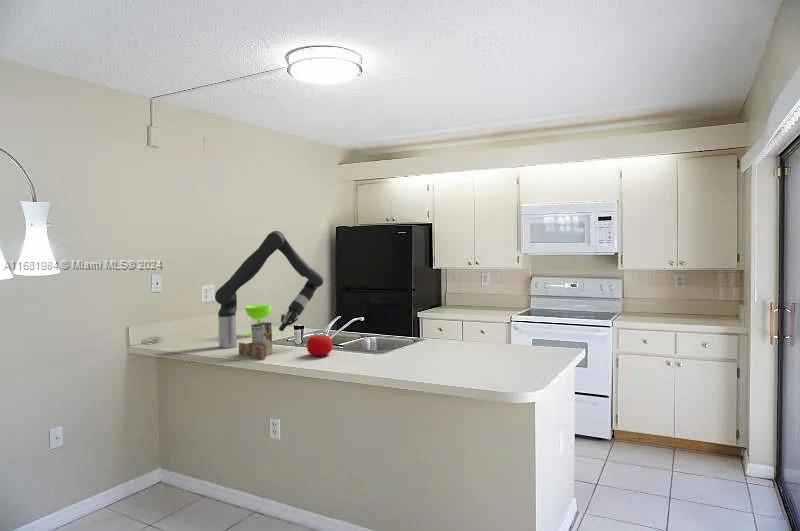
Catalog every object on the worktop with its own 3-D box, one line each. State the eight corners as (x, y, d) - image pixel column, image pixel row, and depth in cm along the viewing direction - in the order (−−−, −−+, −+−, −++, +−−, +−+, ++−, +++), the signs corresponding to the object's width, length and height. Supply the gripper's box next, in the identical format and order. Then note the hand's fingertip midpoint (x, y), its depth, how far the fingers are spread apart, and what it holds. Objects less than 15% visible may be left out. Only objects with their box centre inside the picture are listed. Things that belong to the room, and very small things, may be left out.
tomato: (306, 353, 291) (305, 333, 291) (331, 351, 294) (331, 331, 293) (307, 358, 277) (307, 337, 277) (334, 357, 280) (333, 336, 279)
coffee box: (262, 352, 296) (260, 322, 295) (272, 353, 294) (271, 322, 293) (252, 356, 287) (251, 324, 286) (263, 356, 285) (262, 324, 284)
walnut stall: (239, 354, 293) (238, 342, 292) (247, 352, 296) (247, 341, 296) (263, 359, 277) (262, 347, 277) (272, 358, 281) (271, 345, 281)
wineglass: (277, 333, 357) (276, 305, 357) (261, 338, 343) (260, 308, 342) (257, 332, 364) (256, 304, 363) (240, 336, 349) (239, 307, 349)
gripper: (287, 299, 309) (268, 324, 300) (302, 300, 300) (283, 326, 291) (295, 308, 313) (277, 333, 304) (310, 309, 304) (292, 335, 295)
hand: (280, 330), depth 298 cm, fingers closed
